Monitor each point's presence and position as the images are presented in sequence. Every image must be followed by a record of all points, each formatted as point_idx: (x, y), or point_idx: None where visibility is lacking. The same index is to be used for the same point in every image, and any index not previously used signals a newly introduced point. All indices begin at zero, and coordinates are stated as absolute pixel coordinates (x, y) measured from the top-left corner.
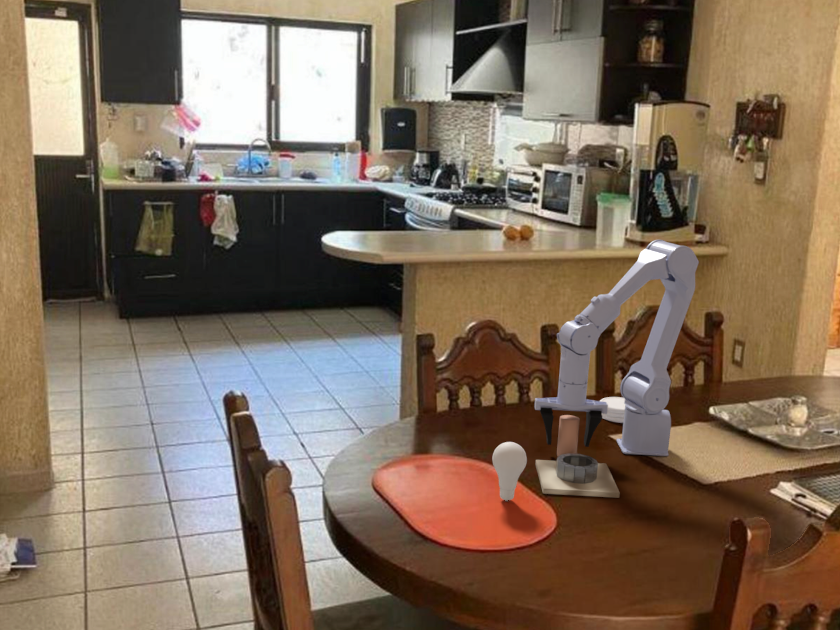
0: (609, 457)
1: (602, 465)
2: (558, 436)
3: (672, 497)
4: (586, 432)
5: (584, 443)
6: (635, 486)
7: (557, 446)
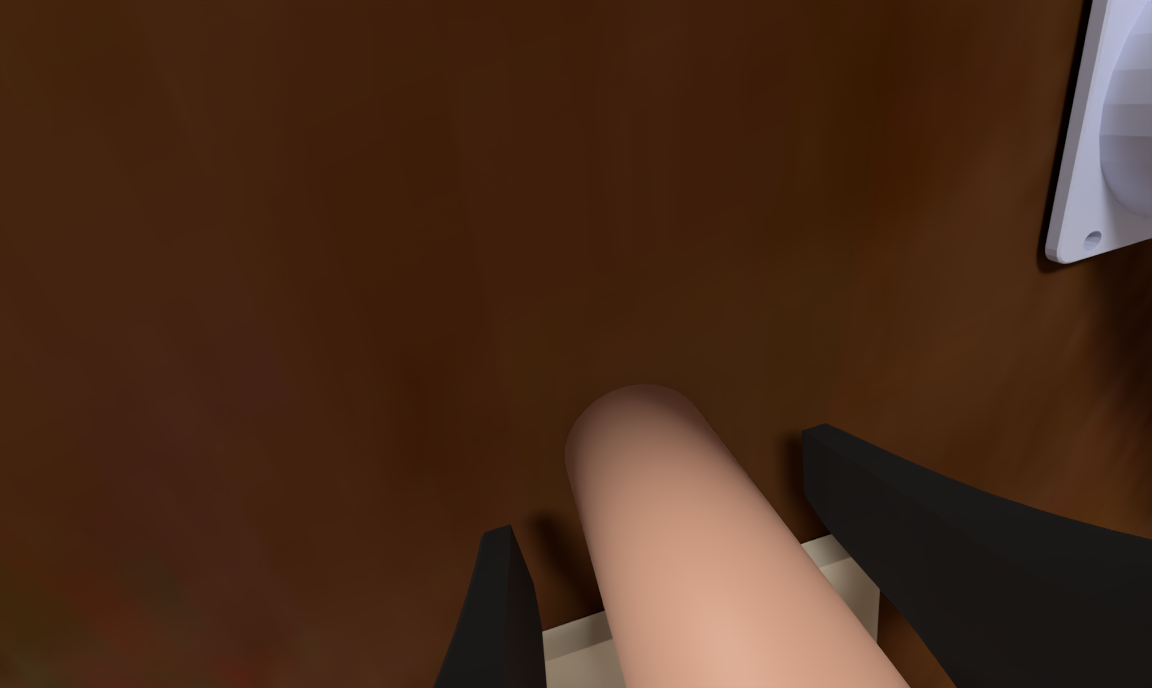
0: (923, 352)
1: (855, 579)
2: (601, 596)
3: None
4: (891, 548)
5: (808, 462)
6: None
7: (579, 516)
